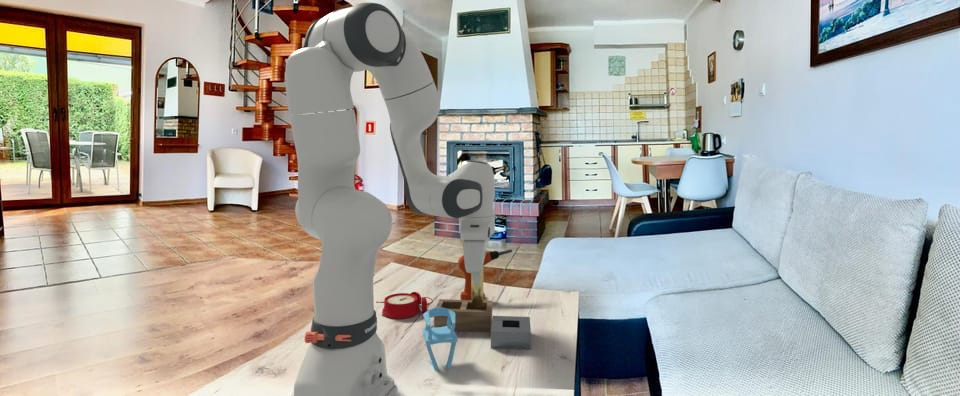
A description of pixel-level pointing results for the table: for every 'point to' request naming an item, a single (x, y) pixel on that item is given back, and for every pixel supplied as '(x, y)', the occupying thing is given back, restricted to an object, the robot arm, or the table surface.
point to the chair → (440, 333)
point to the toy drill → (468, 286)
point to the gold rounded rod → (477, 291)
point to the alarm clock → (404, 305)
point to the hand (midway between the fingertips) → (477, 279)
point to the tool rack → (466, 315)
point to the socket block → (511, 332)
